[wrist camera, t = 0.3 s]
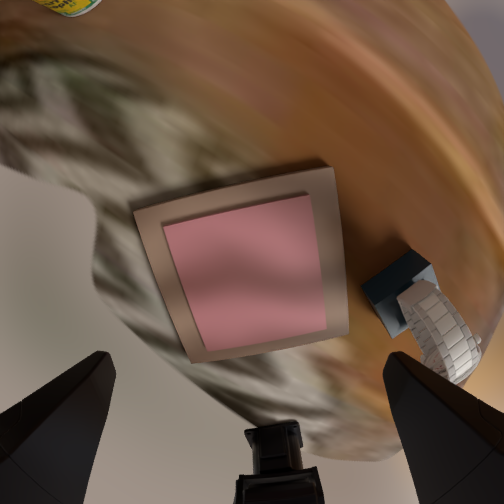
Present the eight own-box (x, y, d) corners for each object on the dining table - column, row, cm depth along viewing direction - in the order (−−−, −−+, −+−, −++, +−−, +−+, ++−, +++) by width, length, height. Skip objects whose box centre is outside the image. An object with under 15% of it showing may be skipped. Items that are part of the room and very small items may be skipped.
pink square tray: (345, 327, 24) (350, 336, 23) (193, 356, 25) (190, 366, 24) (329, 165, 19) (335, 167, 18) (137, 208, 20) (130, 213, 19)
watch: (385, 330, 25) (437, 416, 15) (351, 270, 22) (415, 362, 12) (431, 297, 24) (497, 370, 14) (405, 231, 21) (494, 298, 11)
